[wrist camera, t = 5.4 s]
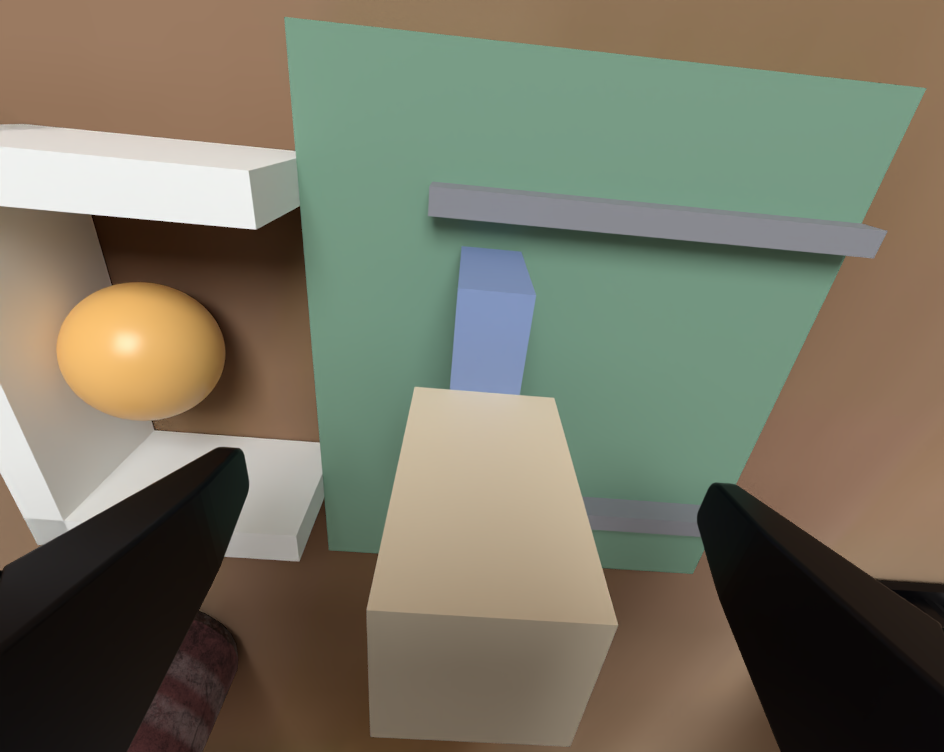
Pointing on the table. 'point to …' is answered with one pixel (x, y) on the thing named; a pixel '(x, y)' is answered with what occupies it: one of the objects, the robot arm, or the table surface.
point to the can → (190, 691)
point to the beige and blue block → (486, 546)
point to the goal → (84, 272)
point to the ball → (140, 351)
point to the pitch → (574, 252)
